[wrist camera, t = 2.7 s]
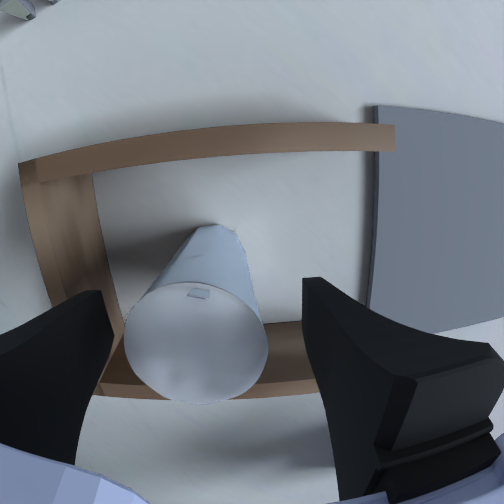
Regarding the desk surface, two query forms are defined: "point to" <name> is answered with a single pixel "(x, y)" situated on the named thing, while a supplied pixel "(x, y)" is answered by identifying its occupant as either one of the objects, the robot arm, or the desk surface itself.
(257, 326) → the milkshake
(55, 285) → the open box
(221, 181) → the desk surface
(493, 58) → the desk surface
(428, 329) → the mat
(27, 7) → the caliper
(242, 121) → the desk surface
